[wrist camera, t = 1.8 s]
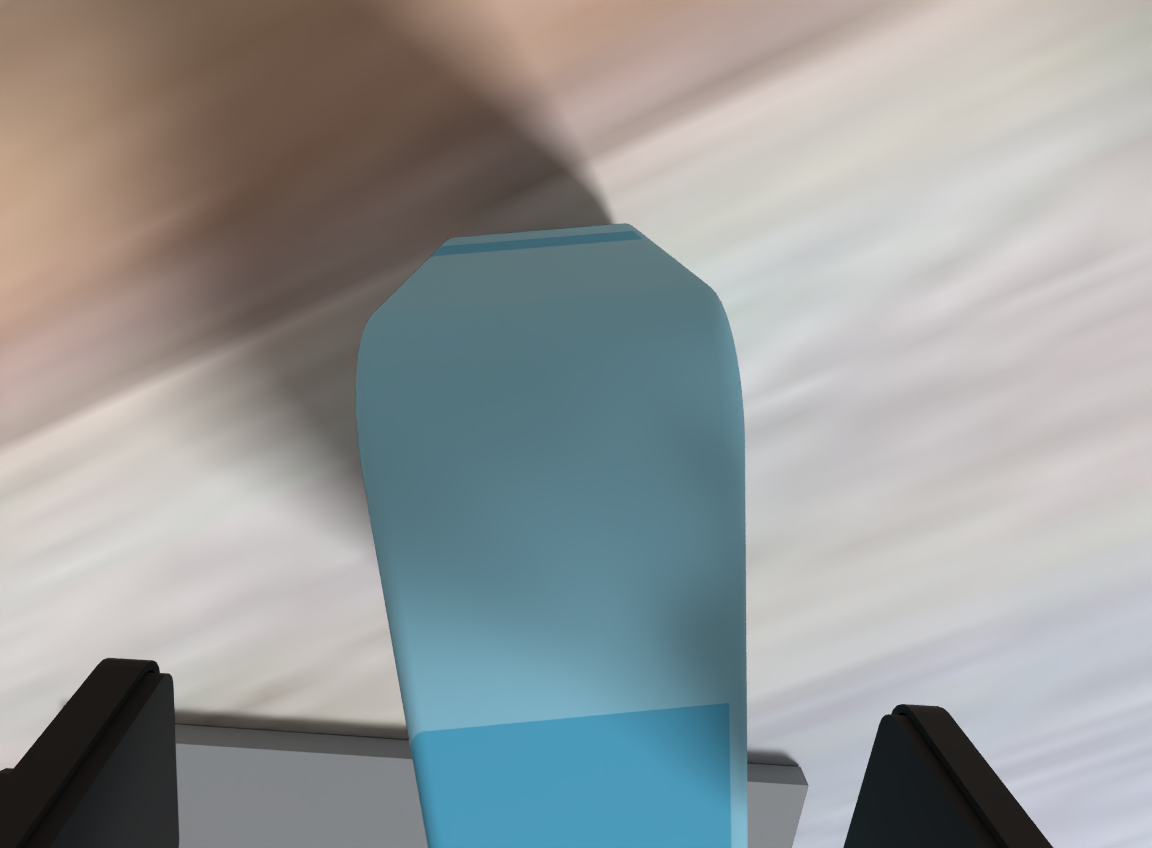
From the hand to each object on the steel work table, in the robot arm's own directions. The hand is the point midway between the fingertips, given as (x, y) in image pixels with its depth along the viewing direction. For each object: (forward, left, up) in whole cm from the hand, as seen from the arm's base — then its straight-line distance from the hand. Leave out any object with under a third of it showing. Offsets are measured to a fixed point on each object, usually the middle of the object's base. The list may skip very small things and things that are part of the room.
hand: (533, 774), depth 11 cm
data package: (-1, 0, -12) cm, 12 cm away
